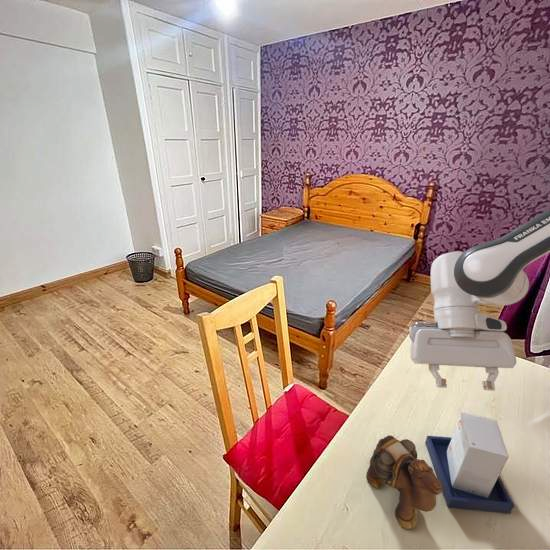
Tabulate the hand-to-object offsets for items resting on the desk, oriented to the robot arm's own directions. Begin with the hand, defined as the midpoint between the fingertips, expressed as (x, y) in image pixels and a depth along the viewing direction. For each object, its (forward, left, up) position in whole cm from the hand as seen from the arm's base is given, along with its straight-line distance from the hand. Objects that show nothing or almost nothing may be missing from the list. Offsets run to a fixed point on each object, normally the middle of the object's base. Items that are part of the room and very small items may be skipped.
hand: (465, 389), depth 64 cm
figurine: (+15, +13, -16) cm, 26 cm away
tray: (0, +8, -16) cm, 18 cm away
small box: (0, +8, -15) cm, 18 cm away
